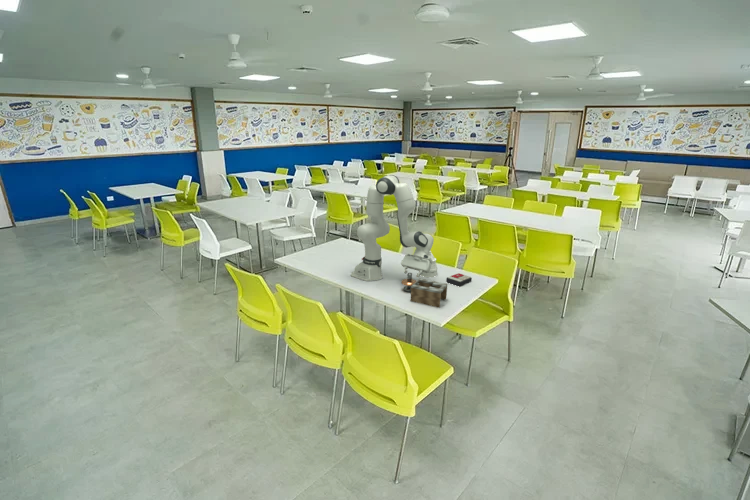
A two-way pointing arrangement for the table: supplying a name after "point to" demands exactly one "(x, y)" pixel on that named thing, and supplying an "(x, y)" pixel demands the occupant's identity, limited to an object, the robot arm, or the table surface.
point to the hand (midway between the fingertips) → (411, 274)
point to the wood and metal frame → (428, 292)
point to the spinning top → (408, 282)
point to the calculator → (458, 279)
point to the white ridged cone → (433, 268)
